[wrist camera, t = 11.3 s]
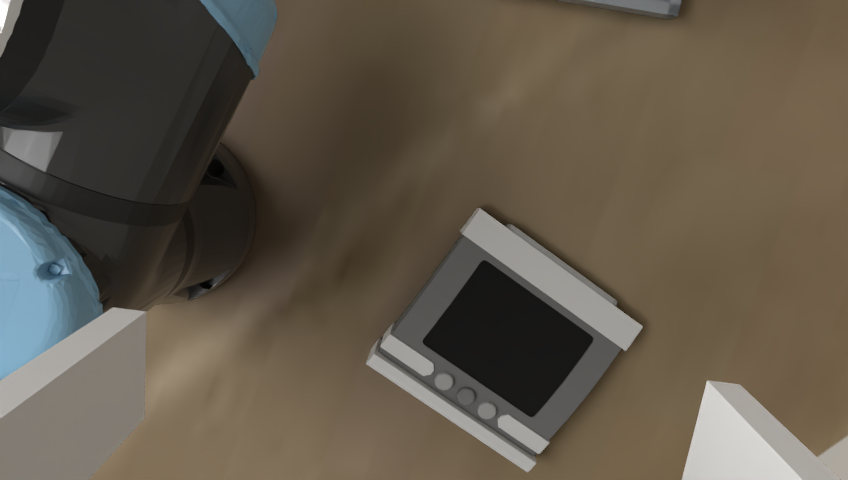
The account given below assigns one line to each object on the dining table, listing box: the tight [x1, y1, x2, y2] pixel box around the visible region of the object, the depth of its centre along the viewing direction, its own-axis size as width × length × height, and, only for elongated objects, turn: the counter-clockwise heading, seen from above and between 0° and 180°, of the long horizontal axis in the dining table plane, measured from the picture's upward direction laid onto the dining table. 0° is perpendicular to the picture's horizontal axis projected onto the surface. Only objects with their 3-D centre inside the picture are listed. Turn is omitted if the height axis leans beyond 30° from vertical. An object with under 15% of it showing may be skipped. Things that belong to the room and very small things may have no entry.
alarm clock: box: [366, 208, 643, 472], centre depth 51 cm, size 17×5×16 cm
